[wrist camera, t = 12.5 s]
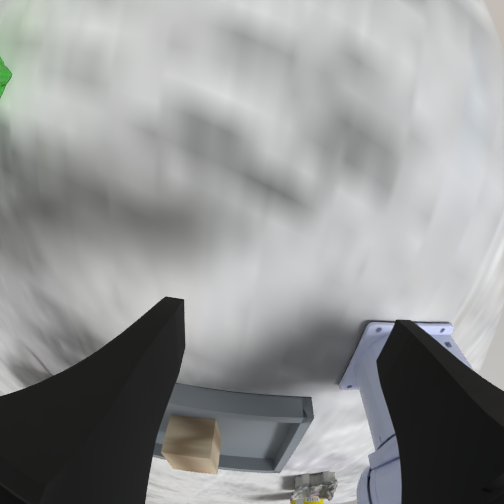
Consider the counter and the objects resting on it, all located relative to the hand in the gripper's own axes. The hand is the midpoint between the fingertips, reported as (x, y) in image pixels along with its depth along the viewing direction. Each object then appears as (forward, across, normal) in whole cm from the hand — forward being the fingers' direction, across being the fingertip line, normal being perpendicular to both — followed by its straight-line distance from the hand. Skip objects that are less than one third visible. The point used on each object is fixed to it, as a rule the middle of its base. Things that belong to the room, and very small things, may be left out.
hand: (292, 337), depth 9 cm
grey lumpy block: (+10, -14, +44) cm, 48 cm away
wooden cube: (+9, +5, +24) cm, 26 cm away
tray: (+9, +4, +24) cm, 26 cm away
